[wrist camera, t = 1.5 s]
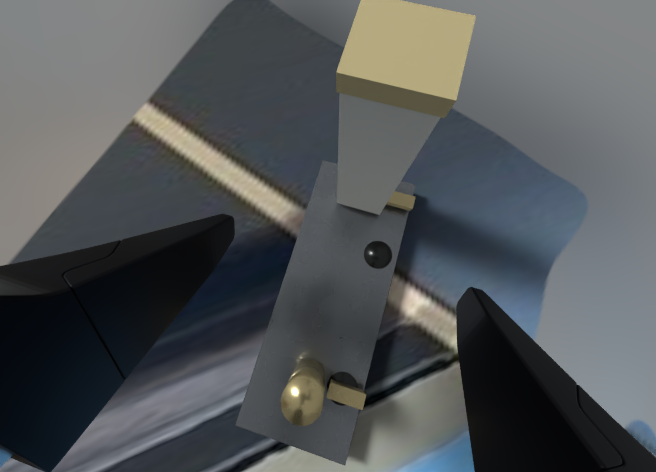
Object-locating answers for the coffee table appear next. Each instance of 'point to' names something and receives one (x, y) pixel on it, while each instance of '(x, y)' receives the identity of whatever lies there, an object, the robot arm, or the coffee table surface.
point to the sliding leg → (394, 95)
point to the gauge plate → (325, 324)
